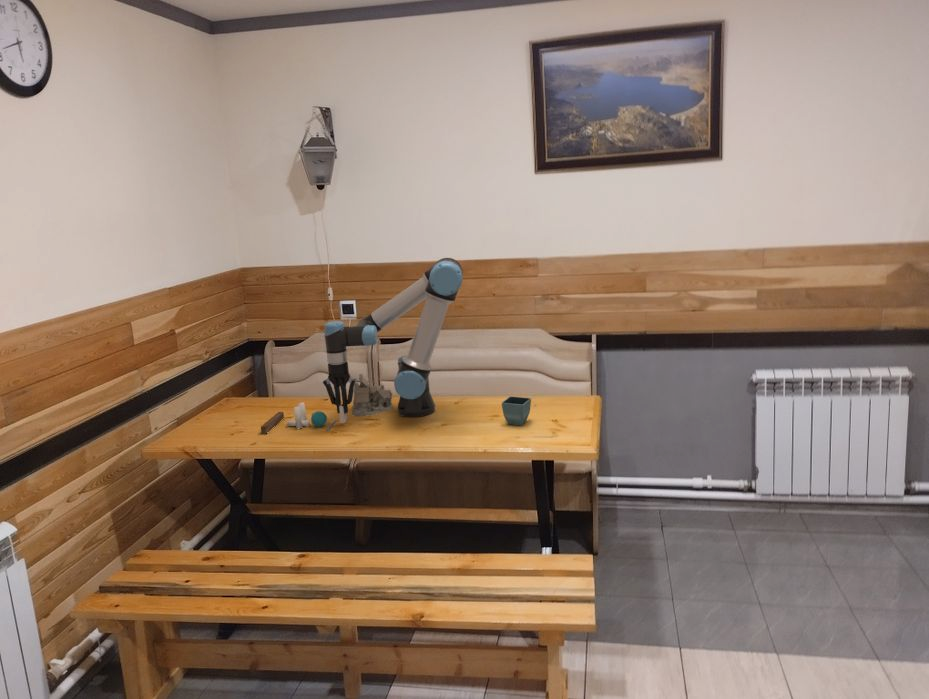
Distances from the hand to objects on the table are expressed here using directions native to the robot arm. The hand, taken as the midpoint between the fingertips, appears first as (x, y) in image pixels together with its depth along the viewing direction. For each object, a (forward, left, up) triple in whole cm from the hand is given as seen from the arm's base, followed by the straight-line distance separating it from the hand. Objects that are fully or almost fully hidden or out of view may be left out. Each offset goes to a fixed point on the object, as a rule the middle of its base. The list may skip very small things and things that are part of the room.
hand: (343, 421), depth 300 cm
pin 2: (+17, -2, -2) cm, 18 cm away
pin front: (+14, 0, -1) cm, 14 cm away
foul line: (+5, 0, -2) cm, 5 cm away
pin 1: (+17, +2, -2) cm, 18 cm away
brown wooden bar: (+29, 0, -2) cm, 29 cm away
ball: (+10, 0, +1) cm, 10 cm away
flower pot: (-67, -2, -2) cm, 67 cm away
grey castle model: (-6, -19, -2) cm, 20 cm away
